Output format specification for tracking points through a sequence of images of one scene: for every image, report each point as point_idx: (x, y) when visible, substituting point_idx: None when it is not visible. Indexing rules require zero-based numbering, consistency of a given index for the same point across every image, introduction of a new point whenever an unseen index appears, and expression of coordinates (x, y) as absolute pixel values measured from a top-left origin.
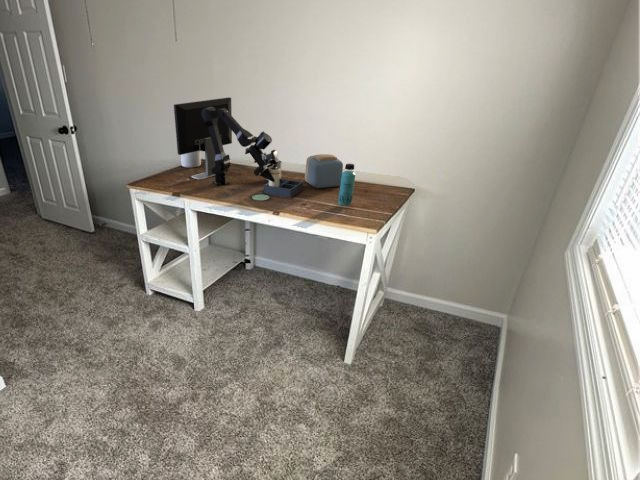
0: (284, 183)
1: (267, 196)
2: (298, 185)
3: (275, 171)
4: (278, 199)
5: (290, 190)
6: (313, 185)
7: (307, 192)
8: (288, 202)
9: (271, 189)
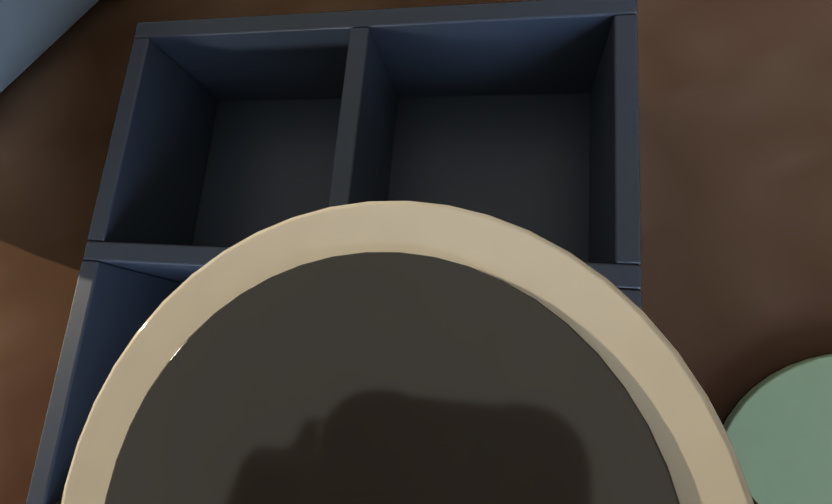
0: None
1: (772, 418)
2: (311, 19)
3: (654, 360)
4: (757, 208)
5: (633, 11)
6: (78, 2)
7: (279, 10)
8: (799, 31)
9: None
